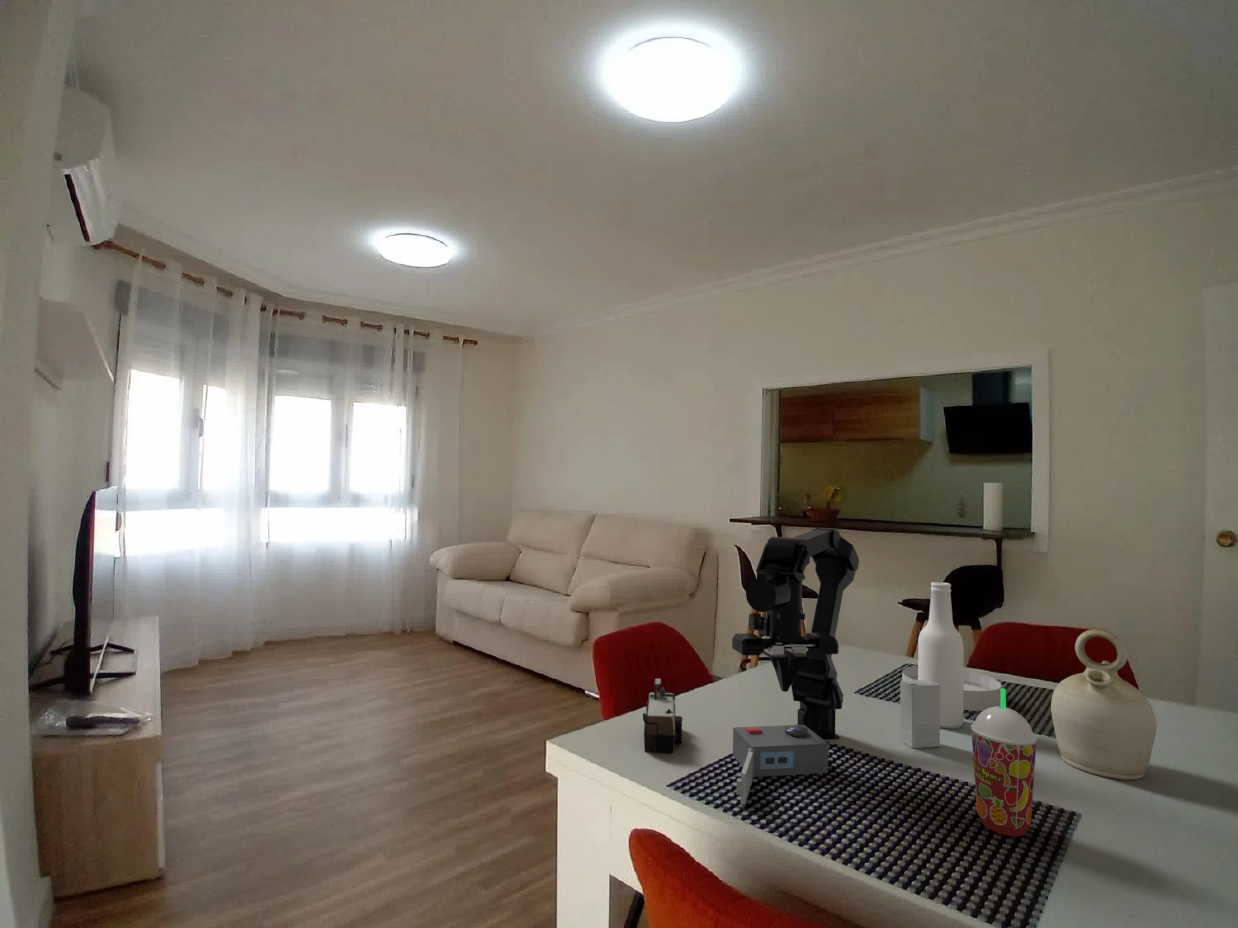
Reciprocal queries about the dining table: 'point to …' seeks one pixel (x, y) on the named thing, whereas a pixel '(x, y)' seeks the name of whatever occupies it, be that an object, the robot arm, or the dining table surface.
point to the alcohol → (943, 656)
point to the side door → (746, 777)
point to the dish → (970, 689)
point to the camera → (661, 722)
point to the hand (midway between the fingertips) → (784, 690)
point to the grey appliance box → (781, 750)
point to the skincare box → (920, 713)
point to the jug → (1103, 717)
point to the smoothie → (1004, 769)
